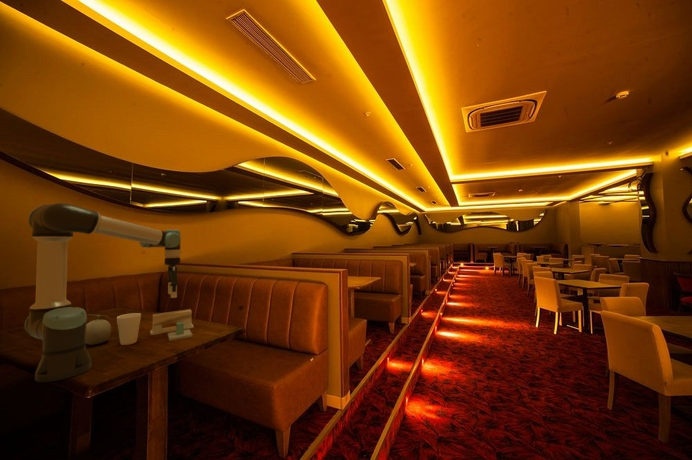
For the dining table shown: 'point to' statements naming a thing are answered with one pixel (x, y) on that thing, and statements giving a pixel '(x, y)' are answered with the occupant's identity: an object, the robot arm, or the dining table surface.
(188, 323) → the beige bracket
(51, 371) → the robot arm
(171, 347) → the dining table surface
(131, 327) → the foam cup
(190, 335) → the fulcrum
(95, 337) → the fruit
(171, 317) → the bar
